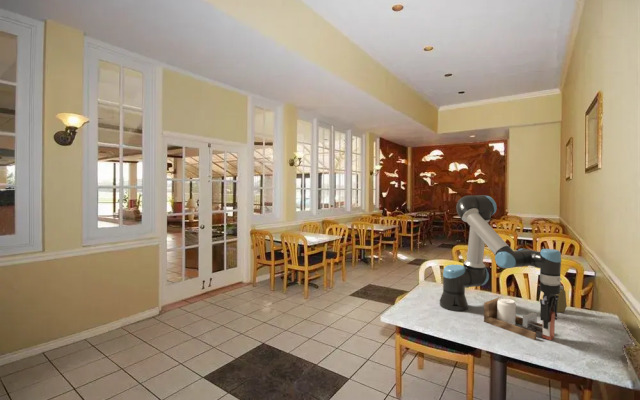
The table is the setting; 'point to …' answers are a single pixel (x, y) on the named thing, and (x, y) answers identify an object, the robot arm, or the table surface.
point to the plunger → (531, 325)
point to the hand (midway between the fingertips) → (548, 333)
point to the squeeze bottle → (561, 300)
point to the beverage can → (506, 310)
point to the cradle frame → (491, 318)
